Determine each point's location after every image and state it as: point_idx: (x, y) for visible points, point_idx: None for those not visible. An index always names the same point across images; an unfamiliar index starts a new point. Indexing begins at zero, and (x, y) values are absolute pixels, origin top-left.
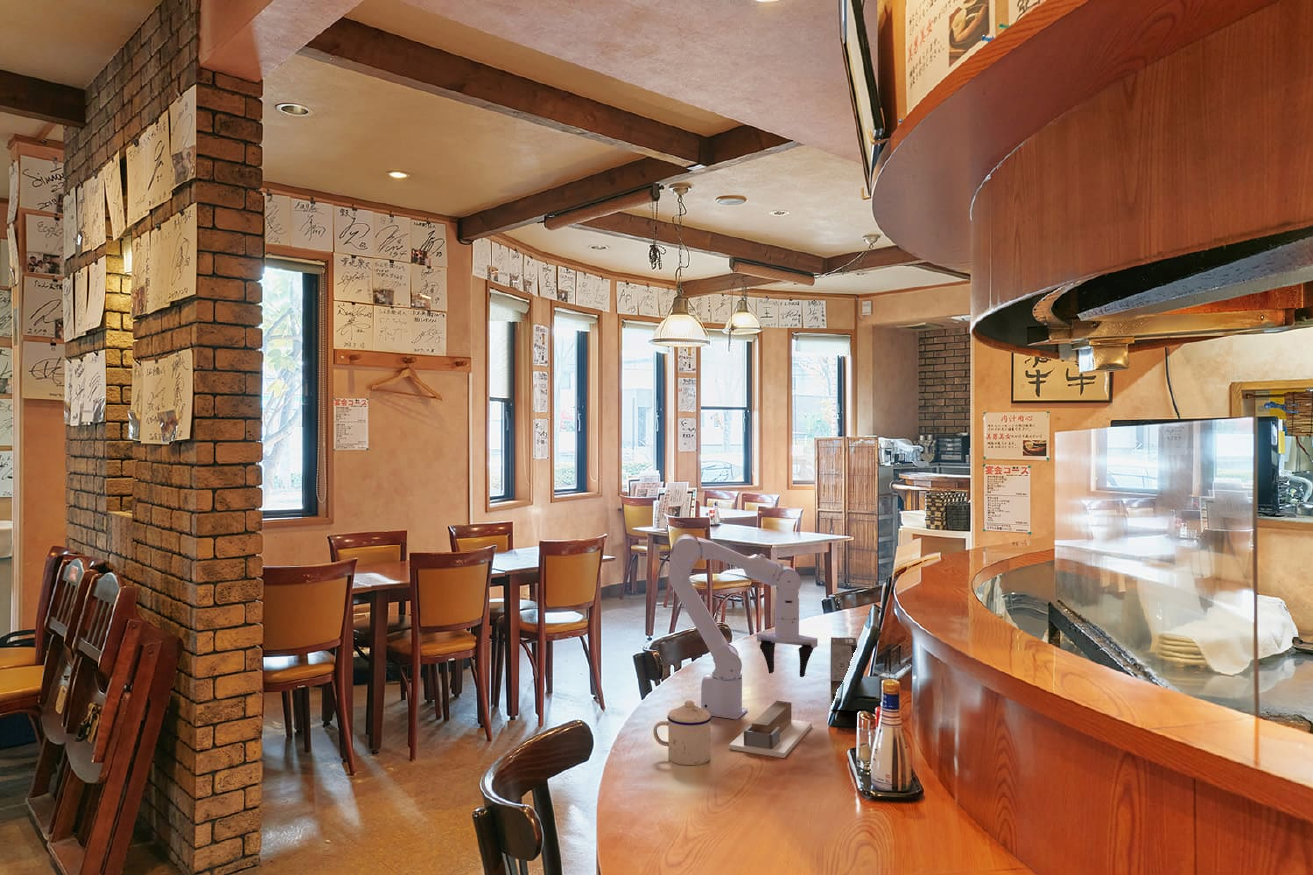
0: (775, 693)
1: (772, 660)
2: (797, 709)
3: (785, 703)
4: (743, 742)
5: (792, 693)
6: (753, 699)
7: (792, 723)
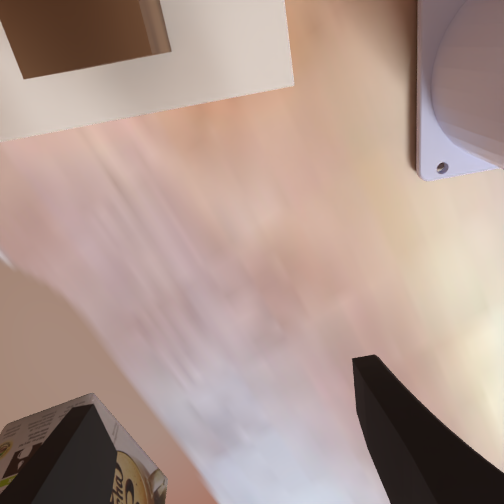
0: None
1: (398, 491)
2: (216, 329)
3: (42, 17)
4: None
5: (329, 468)
6: (446, 338)
7: None
